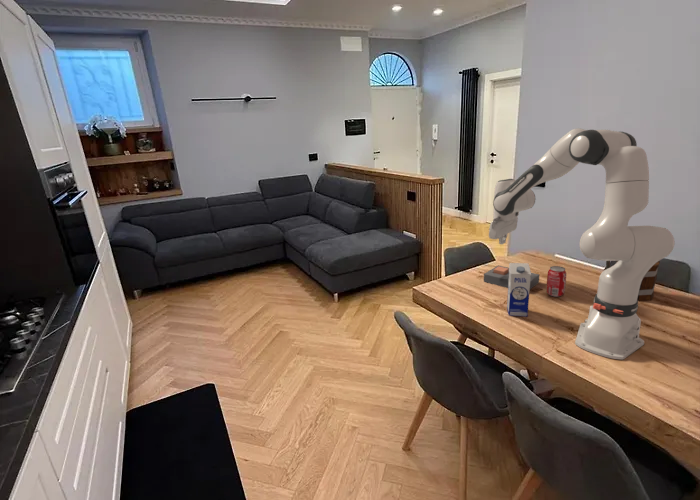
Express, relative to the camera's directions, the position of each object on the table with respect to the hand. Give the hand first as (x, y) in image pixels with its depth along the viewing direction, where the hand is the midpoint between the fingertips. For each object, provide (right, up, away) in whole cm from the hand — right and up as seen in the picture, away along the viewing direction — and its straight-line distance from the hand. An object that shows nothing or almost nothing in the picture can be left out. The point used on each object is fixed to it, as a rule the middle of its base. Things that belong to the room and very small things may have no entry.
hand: (502, 243), depth 175 cm
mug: (+46, -21, -15) cm, 53 cm away
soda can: (+18, -22, -13) cm, 31 cm away
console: (+5, -18, +2) cm, 19 cm away
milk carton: (-4, -28, -24) cm, 38 cm away
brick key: (+1, -15, +5) cm, 16 cm away
